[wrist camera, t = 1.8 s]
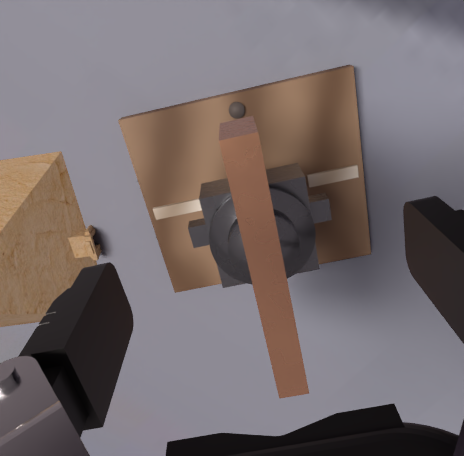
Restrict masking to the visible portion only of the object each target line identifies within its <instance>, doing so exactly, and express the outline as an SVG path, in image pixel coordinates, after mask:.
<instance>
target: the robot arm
mask: <svg viewBox="0 0 464 456" xmlns="http://www.w3.org/2000/svg"><path fill="white" fill-rule="evenodd" d="M403 215H404V233H405V250H406V260H407V264H408V267H409V270H410V272H411V274H412V276H413V278H414V279H415V280H416V282H417V283H418V284H419V286H420V287H421V288H422V290H423V291H424V292H425V294H426V295H427V296H428V297H429V299H430V300H431V301H432V303H433V304H434V305H435V307H436V308H437V309H438V311H439V312H440V313H441V315H442V316H443V317H444V318H445V320H446V321H447V322H448V324H449V325H450V326H451V328H452V329H453V330H454V332H455V333H456V334H457V336H458V337H459V338H460V339H461V341H462V342H463V343H464V210H456V211H455V210H454V209H452V208H451V207H450V206H448V205H447V204H446V203H445V202H443V201H442V200H441V199H440V198H438V197H437V196H433V197H428V198H423V199H418V200H414V201H409V202H406V203H405V204H404V209H403ZM132 331H133V314H132V310H131V307H130V304H129V302H128V299H127V297H126V294H125V292H124V289H123V286H122V284H121V281H120V279H119V276H118V274H117V271H116V269H115V267H114V266H113V264H112V263H104V264H100V265H95V266H90V267H85V268H83V269H82V270H81V271H80V273H79V275H78V276H77V278H76V280H75V281H74V283H73V285H72V286H71V288H68V289H66V290H65V291H64V292H63V293H62V294H61V295H60V296H58V297H57V298H56V299H55V300H54V301H53V302H52V304H51V306H50V307H49V309H48V310H47V312H46V316H44V317H43V318H42V320H41V321H40V323H39V326H38V327H37V328H36V329H35V331H34V332H33V334H32V336H31V337H30V339H29V340H28V342H27V343H26V345H25V347H24V348H23V350H22V351H21V353H20V355H19V356H18V357H15V358H12V359H9V360H6V361H4V362H2V363H0V456H90V455H89V453H88V451H87V450H86V448H85V446H84V444H83V442H82V441H81V439H80V437H81V434H82V431H83V430H89V429H94V428H100V427H103V425H104V422H105V418H106V415H107V412H108V409H109V405H110V402H111V399H112V396H113V392H114V389H115V386H116V383H117V379H118V376H119V373H120V370H121V366H122V363H123V360H124V357H125V353H126V350H127V347H128V344H129V340H130V337H131V334H132ZM166 456H464V420H463V423H462V427H461V430H460V434H459V435H456V434H453V433H451V432H448V431H445V430H442V429H438V428H435V427H431V426H427V425H421V424H415V423H405V422H402V420H401V418H400V416H399V413H398V411H397V409H396V407H395V405H394V404H389V405H383V406H377V407H371V408H365V409H359V410H353V411H347V412H341V413H336V414H334V415H331V416H329V417H327V418H324V419H322V420H319V421H317V422H315V423H312V424H310V425H307V426H305V427H302V428H300V429H298V430H295V431H293V432H290V433H288V434H285V435H282V436H262V435H246V434H231V433H218V434H212V435H206V436H200V437H194V438H188V439H182V440H176V441H170V442H167V449H166Z"/></svg>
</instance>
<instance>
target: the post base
mask: <svg viewBox="0 0 464 456" xmlns="http://www.w3.org/2000/svg"><path fill="white" fill-rule="evenodd" d="M250 116H253V118H254V121H255V124H256V127H257V130H258V134H259V139H260V144H261V149H262V154H263V159H264V165H265V170H266V169H271V168H275V167H280V166H285V165H289V164H294V163H298V164H299V166H300V168H301V170H302V172H303V173H304V175H305V179H306V185H307V192H308V196H311V195H316V194H321V193H326V195H327V196H328V198H329V203H330V210H331V218H332V220H329V221H324V222H319V223H315V224H314V226H315V232H316V238H315V243H316V250H317V256H318V262H319V264H323V263H328V262H333V261H338V260H344V259H349V258H354V257H359V256H364V255H369V254H371V247H370V236H369V225H368V215H367V204H366V194H365V183H364V173H363V162H362V152H361V141H360V130H359V120H358V109H357V99H356V88H355V78H354V67H353V66H352V65H346V66H342V67H337V68H333V69H329V70H324V71H320V72H316V73H311V74H307V75H303V76H299V77H294V78H290V79H286V80H281V81H277V82H273V83H268V84H264V85H260V86H256V87H251V88H247V89H243V90H238V91H234V92H230V93H225V94H221V95H217V96H212V97H208V98H204V99H200V100H195V101H191V102H187V103H182V104H178V105H174V106H169V107H165V108H161V109H156V110H152V111H148V112H144V113H139V114H135V115H131V116H126V117H122V118H121V119H119V120H118V121H119V124H120V127H121V130H122V133H123V136H124V139H125V142H126V145H127V148H128V151H129V155H130V158H131V161H132V164H133V167H134V170H135V173H136V176H137V179H138V182H139V185H140V188H141V191H142V194H143V197H144V200H145V203H146V206H147V209H148V212H149V215H150V218H151V221H152V224H153V227H154V230H155V233H156V236H157V239H158V242H159V246H160V249H161V252H162V255H163V258H164V261H165V264H166V267H167V270H168V273H169V276H170V279H171V282H172V285H173V288H174V291H175V293H176V292H181V291H186V290H191V289H196V288H201V287H206V286H211V285H216V284H221V283H222V282H221V278H220V275H219V271H218V267H217V264H216V261H215V259H214V258H213V256H212V253H211V250H210V245H207V246H202V247H197V248H193V244H192V241H191V237H190V234H189V230H188V225H189V221H192V220H197V219H202V218H204V216H203V212H202V208H201V205H200V201H199V196H200V189H201V183H206V182H211V181H215V180H220V179H225V178H227V174H226V170H225V165H224V161H223V157H222V153H221V149H220V144H219V128H220V123H223V122H228V121H232V120H236V119H241V118H245V117H250Z"/></svg>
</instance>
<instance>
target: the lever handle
mask: <svg viewBox="0 0 464 456" xmlns="http://www.w3.org/2000/svg"><path fill="white" fill-rule="evenodd" d="M219 144H220V149H221V153H222V157H223V161H224V165H225V170H226V174H227V178H225V179H220V180H215V181H211V182H206V183H201V189H200V196H199V201H200V205H201V208H202V212H203V216H204V218H202V219H197V220H192V221H189V225H188V230H189V234H190V237H191V241H192V244H193V248H197V247H202V246H207V245H210V250H211V253H212V256H213V258H214V259H215V261H216V264H217V267H218V271H219V275H220V278H221V282H222V286H223V288H225V287H230V286H235V285H240V284H245V283H248V284H253V288H254V293H255V297H256V301H257V305H258V309H259V314H260V318H261V322H262V326H263V331H264V335H265V339H266V343H267V348H268V352H269V356H270V360H271V364H272V369H273V373H274V377H275V381H276V386H277V390H278V394H279V398H285V397H291V396H297V395H302V394H308V393H309V390H308V385H307V380H306V375H305V370H304V364H303V359H302V354H301V349H300V344H299V339H298V334H297V329H296V323H295V318H294V313H293V308H292V303H291V298H290V293H289V288H288V282H287V278H289V277H291V276H292V275H294V274H296V273H301V272H307V271H312V270H317V269H319V262H318V256H317V250H316V243H315V238H316V232H315V226H314V224H315V223H319V222H324V221H329V220H332V218H331V210H330V203H329V198H328V196H327V195H326V193H321V194H316V195H311V196H308V192H307V185H306V179H305V175H304V173H303V172H302V170H301V168H300V166H299V164H298V163H294V164H289V165H285V166H280V167H275V168H271V169H266V170H265V165H264V159H263V154H262V149H261V144H260V139H259V134H258V130H257V127H256V124H255V121H254V118H253V116H250V117H245V118H241V119H236V120H232V121H228V122H223V123H220V128H219Z"/></svg>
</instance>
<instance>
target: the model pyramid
mask: <svg viewBox="0 0 464 456" xmlns="http://www.w3.org/2000/svg"><path fill="white" fill-rule="evenodd" d="M94 234H95V228H93V226H92V225H90V226H89V227H88V228H87V229H86V228H85V225H84V222H83V218H82V215H81V212H80V209H79V206H78V203H77V200H76V196H75V193H74V190H73V187H72V184H71V181H70V177H69V174H68V171H67V168H66V165H65V162H64V159H63V155H62V152H54V153H47V154H41V155H34V156H27V157H21V158H14V159H7V160H0V327H4V326H11V325H19V324H27V323H35V322H40V321H41V320H42V318H43V317H44V316H46V312H47V310H48V309H49V307H50V306H51V304H52V302H53V301H54V300H55V299H56V298H57V297H58V296H60V295H61V294H62V293H63V292H64V291H65V290H66V289H68V288H71V286H72V285H73V283H74V281H75V280H76V278H77V276H78V275H79V273H80V271H81V270H82V269H83V268H85V267H90V266H95V265H97V262H96V260H98V259H99V255H100V253H101V249H100V244H98V245H95V244H94V240H93V235H94Z"/></svg>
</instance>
